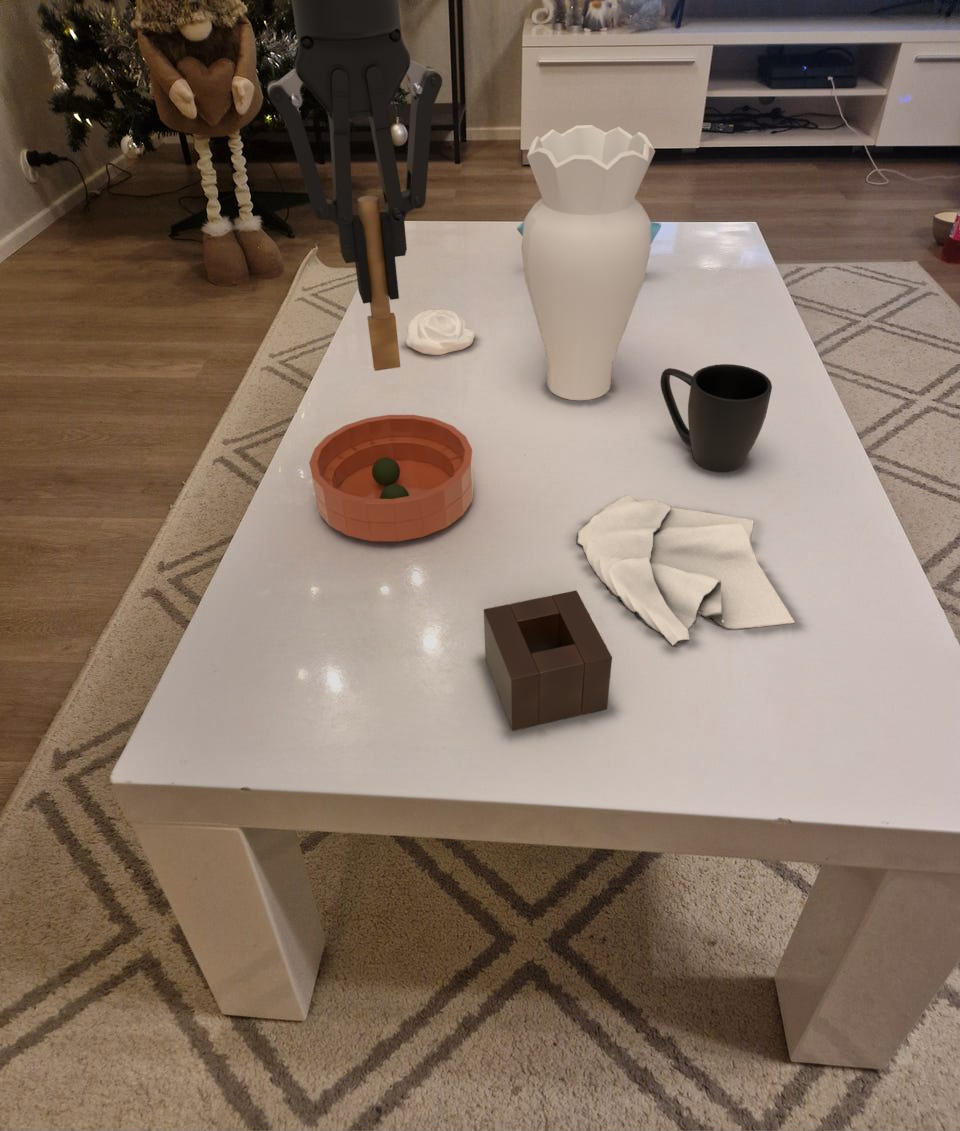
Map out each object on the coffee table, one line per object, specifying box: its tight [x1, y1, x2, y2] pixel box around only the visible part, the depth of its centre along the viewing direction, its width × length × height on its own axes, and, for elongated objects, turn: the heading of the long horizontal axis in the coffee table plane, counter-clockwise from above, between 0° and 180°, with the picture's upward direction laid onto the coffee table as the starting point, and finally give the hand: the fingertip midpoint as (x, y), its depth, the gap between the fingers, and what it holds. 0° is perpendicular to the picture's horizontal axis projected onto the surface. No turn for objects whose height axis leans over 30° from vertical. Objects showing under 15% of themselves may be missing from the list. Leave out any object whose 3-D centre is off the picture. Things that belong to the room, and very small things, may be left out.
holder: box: [483, 589, 613, 732], centre depth 69 cm, size 8×8×6 cm
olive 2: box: [380, 484, 409, 499], centre depth 88 cm, size 3×3×3 cm
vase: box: [521, 124, 656, 401], centre depth 100 cm, size 15×15×29 cm
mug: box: [659, 363, 773, 473], centre depth 94 cm, size 8×12×10 cm
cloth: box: [575, 495, 795, 646], centre depth 81 cm, size 20×22×2 cm
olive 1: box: [372, 457, 400, 486], centre depth 92 cm, size 3×3×3 cm
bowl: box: [308, 414, 475, 542], centre depth 90 cm, size 17×17×6 cm
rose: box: [405, 309, 476, 356], centre depth 119 cm, size 10×4×10 cm
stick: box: [357, 195, 401, 372], centre depth 74 cm, size 2×2×15 cm
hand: (378, 294), depth 75 cm, fingers closed on stick, 2 cm apart
